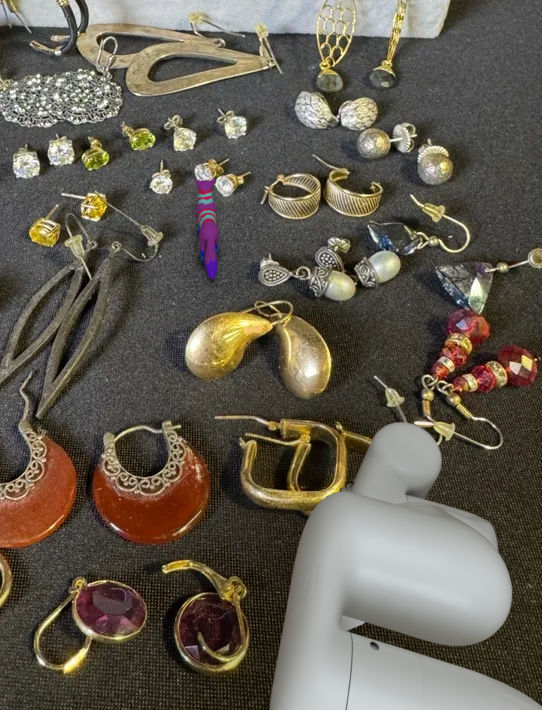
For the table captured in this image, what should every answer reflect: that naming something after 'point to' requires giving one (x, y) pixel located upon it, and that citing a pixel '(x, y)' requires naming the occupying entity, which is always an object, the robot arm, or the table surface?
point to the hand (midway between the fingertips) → (355, 552)
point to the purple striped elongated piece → (207, 226)
